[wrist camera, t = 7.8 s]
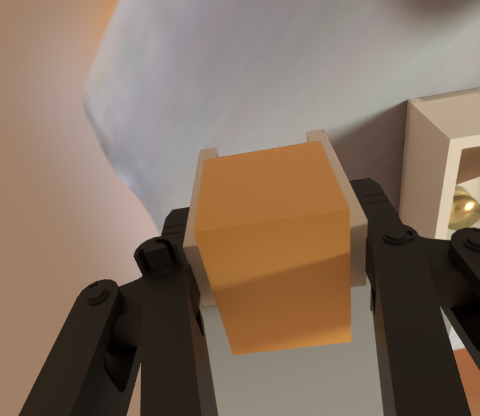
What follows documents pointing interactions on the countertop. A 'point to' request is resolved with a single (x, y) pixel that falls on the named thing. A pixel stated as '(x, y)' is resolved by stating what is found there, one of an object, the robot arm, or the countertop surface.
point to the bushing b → (463, 210)
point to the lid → (284, 288)
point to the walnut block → (469, 165)
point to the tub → (437, 159)
